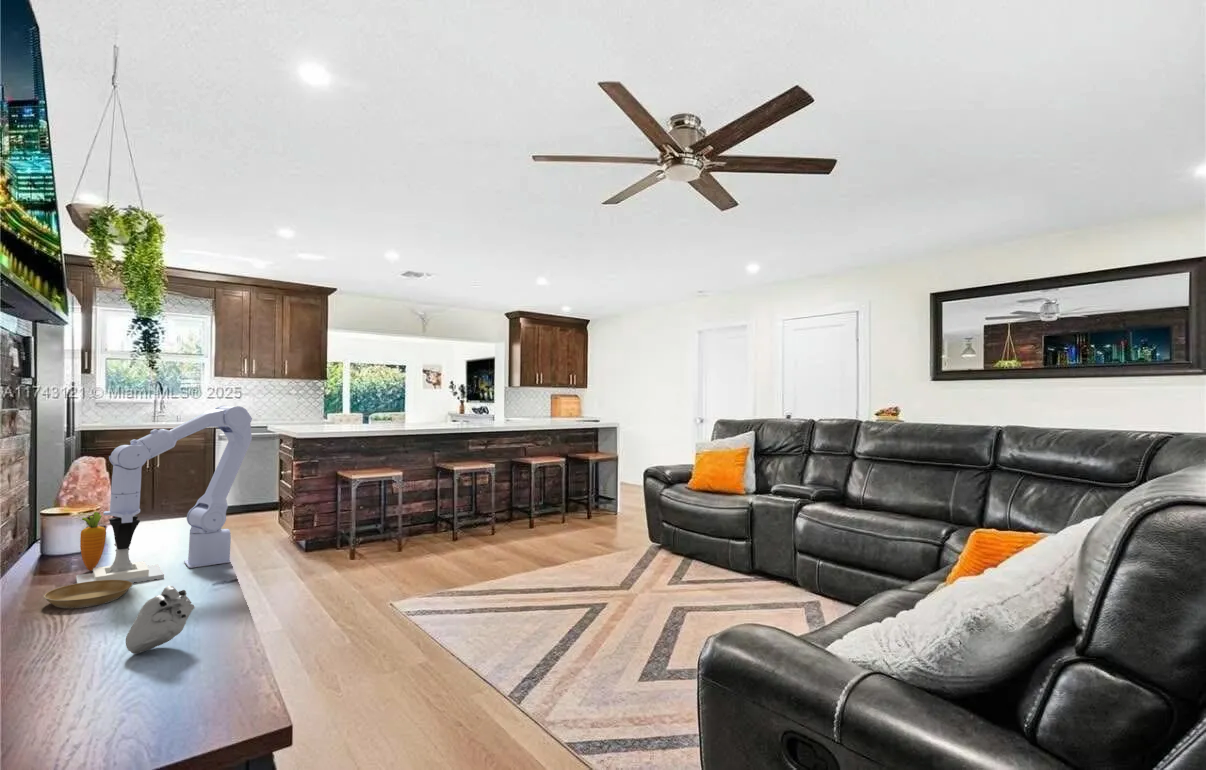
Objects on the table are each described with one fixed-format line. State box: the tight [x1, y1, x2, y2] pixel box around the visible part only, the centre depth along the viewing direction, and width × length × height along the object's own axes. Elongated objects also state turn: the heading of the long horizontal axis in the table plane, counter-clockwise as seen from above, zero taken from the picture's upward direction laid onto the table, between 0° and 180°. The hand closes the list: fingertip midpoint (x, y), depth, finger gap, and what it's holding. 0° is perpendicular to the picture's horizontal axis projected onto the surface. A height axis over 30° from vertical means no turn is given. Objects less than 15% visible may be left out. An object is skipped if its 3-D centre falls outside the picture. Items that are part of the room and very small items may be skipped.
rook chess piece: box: [110, 542, 133, 573], centre depth 143 cm, size 4×4×8 cm
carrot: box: [79, 511, 107, 572], centre depth 148 cm, size 5×5×15 cm
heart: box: [125, 585, 196, 655], centre depth 103 cm, size 10×10×12 cm
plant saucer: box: [43, 580, 133, 609], centre depth 127 cm, size 15×15×3 cm
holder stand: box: [75, 560, 165, 584], centre depth 142 cm, size 16×12×2 cm
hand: (122, 547), depth 143 cm, fingers closed on rook chess piece, 3 cm apart
